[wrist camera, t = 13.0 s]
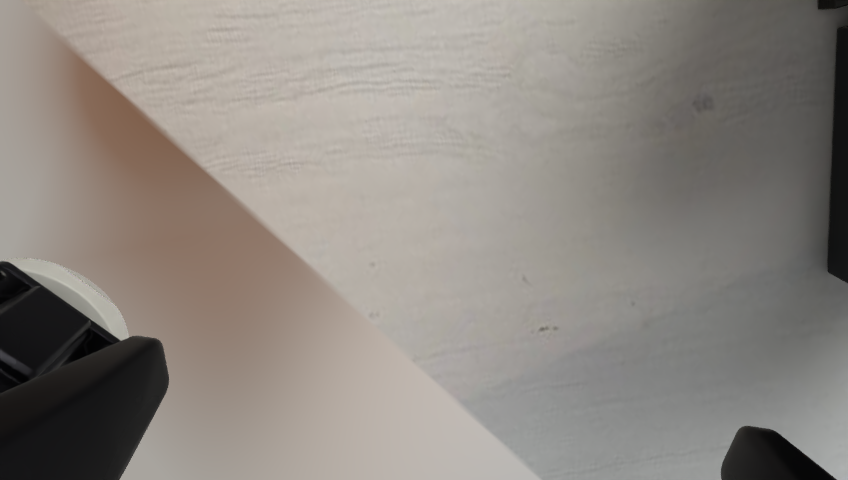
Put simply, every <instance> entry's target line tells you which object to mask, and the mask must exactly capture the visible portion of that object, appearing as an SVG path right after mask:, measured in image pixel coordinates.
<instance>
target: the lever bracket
mask: <svg viewBox="0 0 848 480" xmlns="http://www.w3.org/2000/svg"><path fill="white" fill-rule="evenodd" d="M828 272H829V273H830V274H832V275H834V276H836V277H837V278H839V279H841V280H843V281H845V282H846V283H848V26H845V27H841V28H839V29H838V30H837V52H836V76H835V101H834V126H833V150H832V175H831V199H830V224H829V249H828Z"/></svg>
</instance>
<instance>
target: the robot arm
mask: <svg viewBox="0 0 848 480" xmlns="http://www.w3.org/2000/svg"><path fill="white" fill-rule="evenodd" d="M0 270H1V271H3V272H4V273H5V274H6V276H4V275H3V274H2V273H1V272H0V480H119V479H120V478H121V476H122V474H123V472H124V471H125V469H126V467H127V465H128V463H129V462H130V460H131V458H132V456H133V454H134V452H135V450H136V448H137V446H138V445H139V443H140V441H141V439H142V437H143V435H144V433H145V431H146V429H147V428H148V426H149V424H150V422H151V420H152V418H153V416H154V415H155V412H156V411H157V409H158V407H159V405H160V403H161V401H162V399H163V398H164V395H165V394H166V391H167V388H168V384H169V375H168V370H167V365H166V360H165V354H164V349H163V346H162V343H161V342H160V341H159V340H158V339H156V338H150V337H143V336H132V337H129V338H127V339H124V340H122V341H121V340H119V339H118V338H117V337H115V336H114V335H112V334H111V333H109V332H108V331H107V330H105V329H104V328H102V327H101V326H100V325H98V324H97V323H95V322H94V321H92V320H91V319H90V318H88V317H87V316H85V315H84V314H83V313H81V312H80V311H78V310H77V309H75V308H74V307H73V306H71V305H70V304H68V303H67V302H66V301H64V300H63V299H61V298H60V297H58V296H57V295H56V294H54V293H53V292H51V291H50V290H49V289H47V288H46V287H44V286H43V285H41V284H40V283H39V282H37V281H36V280H34V279H33V278H32V277H30V276H29V275H27V274H26V273H24V272H23V271H22V270H20V269H19V268H17V267H16V266H15V265H13V264H11V263H9V262H6V261H0ZM721 479H722V480H836V479H835V478H834V477H833V476H831V475H830V474H829V473H828V472H826V471H825V470H824V469H823V468H821V467H820V466H819V465H818V464H816V463H815V462H814V461H813V460H811V459H810V458H809V457H808V456H806V455H805V454H804V453H802V452H801V451H800V450H799V449H797V448H796V447H795V446H794V445H792V444H791V443H790V442H789V441H787V440H786V439H785V438H784V437H782V436H781V435H780V434H778V433H777V432H776V431H774V430H771V429H766V428H759V427H753V426H743V427H741V428H740V429H739V430H738V432H737V433H736V435H735V437H734V440H733V442H732V444H731V446H730V448H729V450H728V452H727V454H726V456H725V459H724V461H723V463H722V468H721Z"/></svg>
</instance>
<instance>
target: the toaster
mask: <svg viewBox="0 0 848 480" xmlns="http://www.w3.org/2000/svg"><path fill="white" fill-rule="evenodd" d="M847 5H848V0H818V9H820V10H821V9H836V8H840V7H843V6H847Z"/></svg>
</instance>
